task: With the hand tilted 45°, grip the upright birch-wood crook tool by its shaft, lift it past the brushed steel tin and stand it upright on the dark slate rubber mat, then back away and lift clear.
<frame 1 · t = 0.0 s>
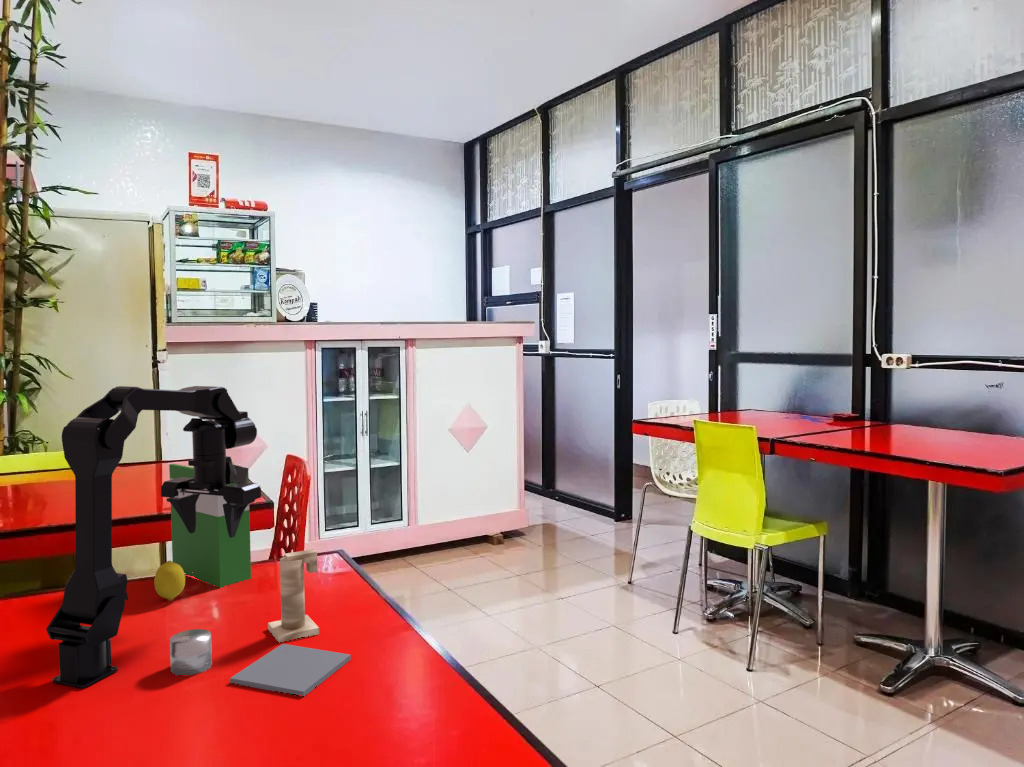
hand: (212, 535, 141), 15 cm above the table, tool pointing down, fingers open, 9 cm apart
mat: (292, 670, 117), on the table
steel tin: (191, 667, 119), on the table
hardback book: (211, 576, 162), on the table
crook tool: (293, 631, 132), on the table
lemon: (170, 601, 147), on the table
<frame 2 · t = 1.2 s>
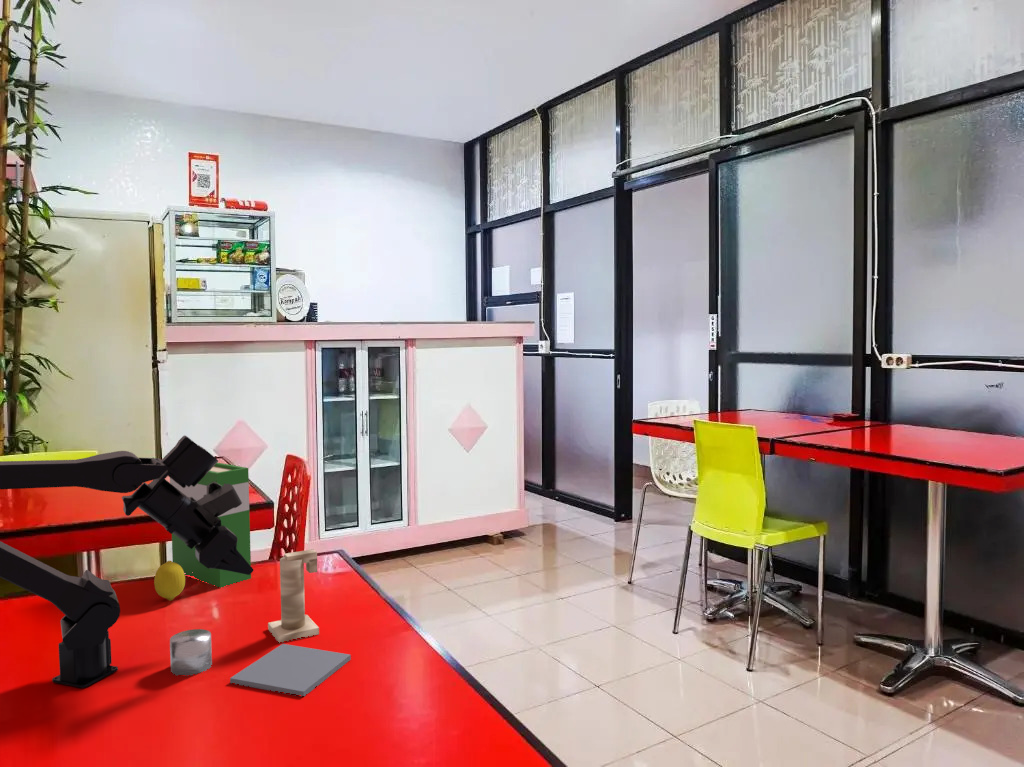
hand: (245, 564, 127), 13 cm above the table, tool tilted 45°, fingers open, 9 cm apart
nothing on the table moved.
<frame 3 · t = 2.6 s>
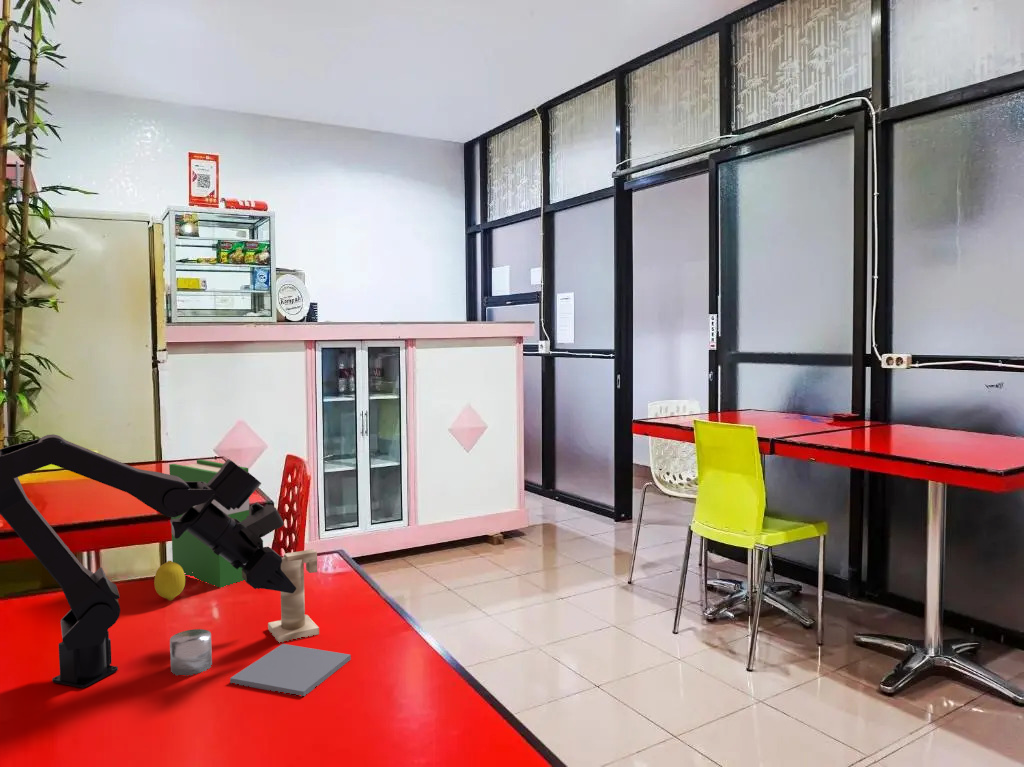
hand: (287, 583, 131), 9 cm above the table, tool tilted 45°, fingers open, 9 cm apart
nothing on the table moved.
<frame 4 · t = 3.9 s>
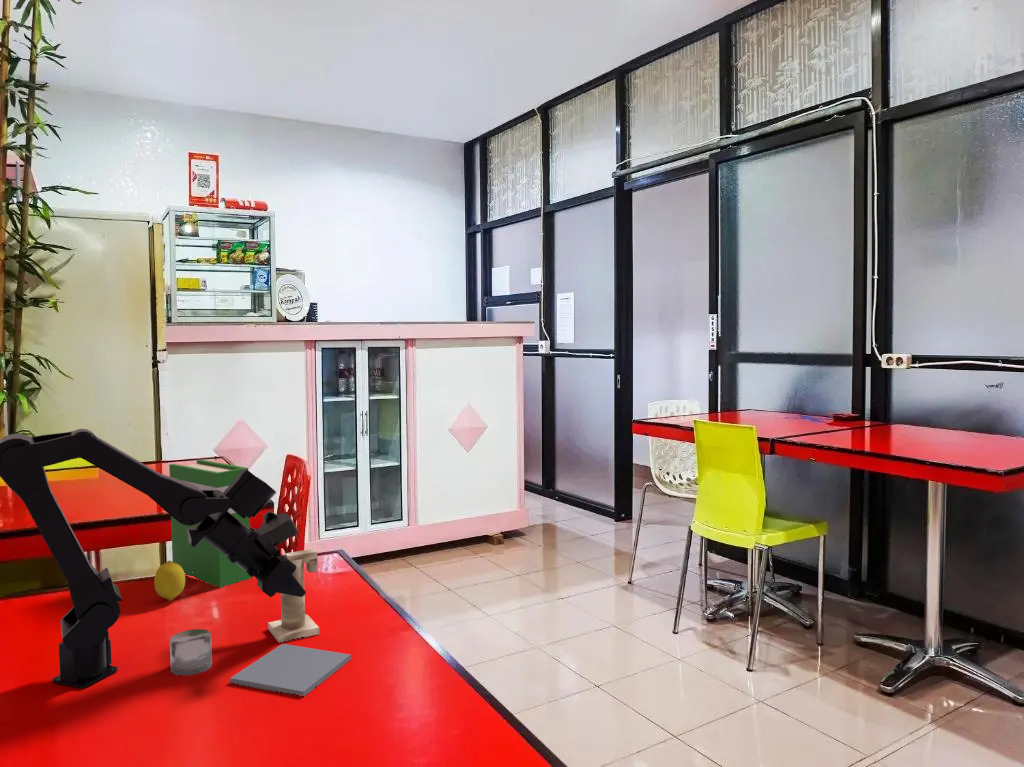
hand: (300, 590, 133), 7 cm above the table, tool tilted 45°, fingers closed on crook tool, 4 cm apart
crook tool: (293, 631, 132), on the table, touching gripper
everything else where it was.
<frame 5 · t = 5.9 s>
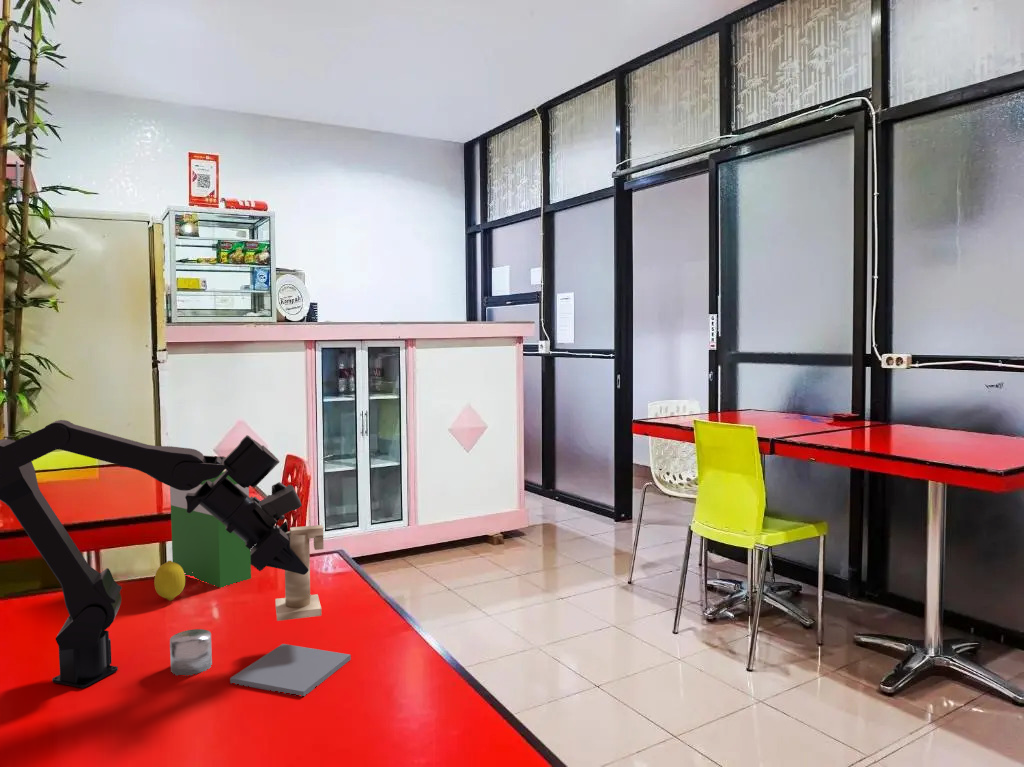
hand: (305, 568, 125), 13 cm above the table, tool tilted 45°, fingers closed on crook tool, 4 cm apart
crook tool: (298, 610, 125), point 6 cm above the table, touching gripper
everything else where it was.
when the fingers open (9 cm above the table, at t = 8.0 s): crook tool stays where it is, resting on mat.
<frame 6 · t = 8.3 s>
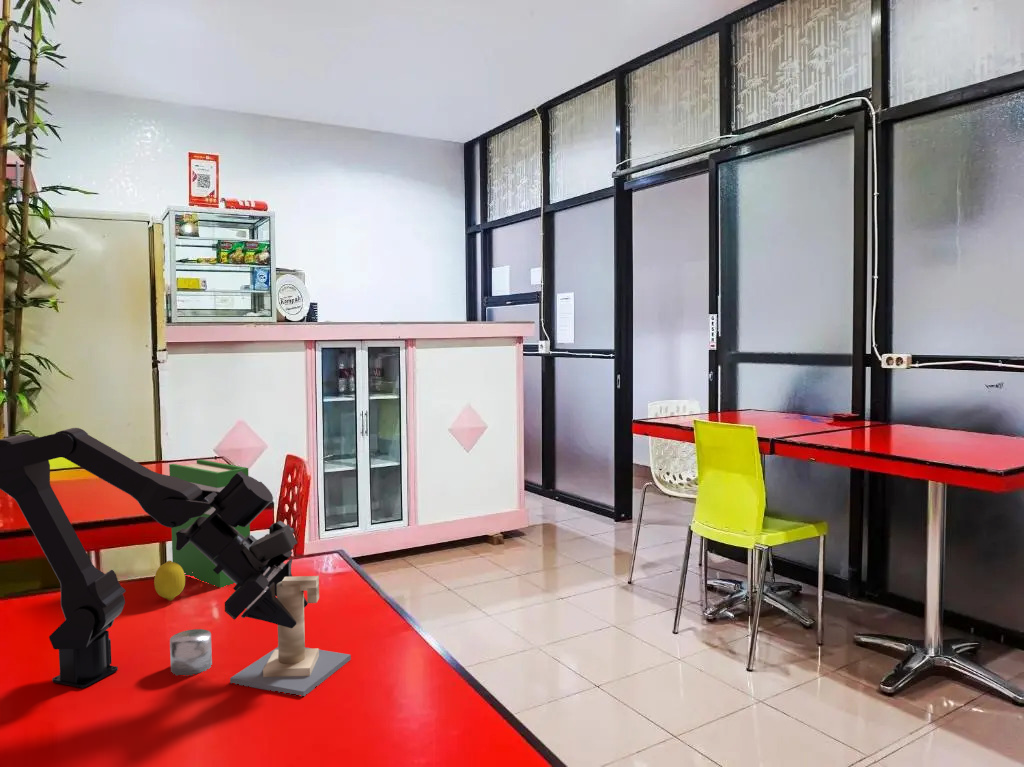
hand: (300, 615, 117), 9 cm above the table, tool tilted 45°, fingers open, 8 cm apart
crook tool: (292, 665, 117), point 1 cm above the table, touching mat
everything else where it was.
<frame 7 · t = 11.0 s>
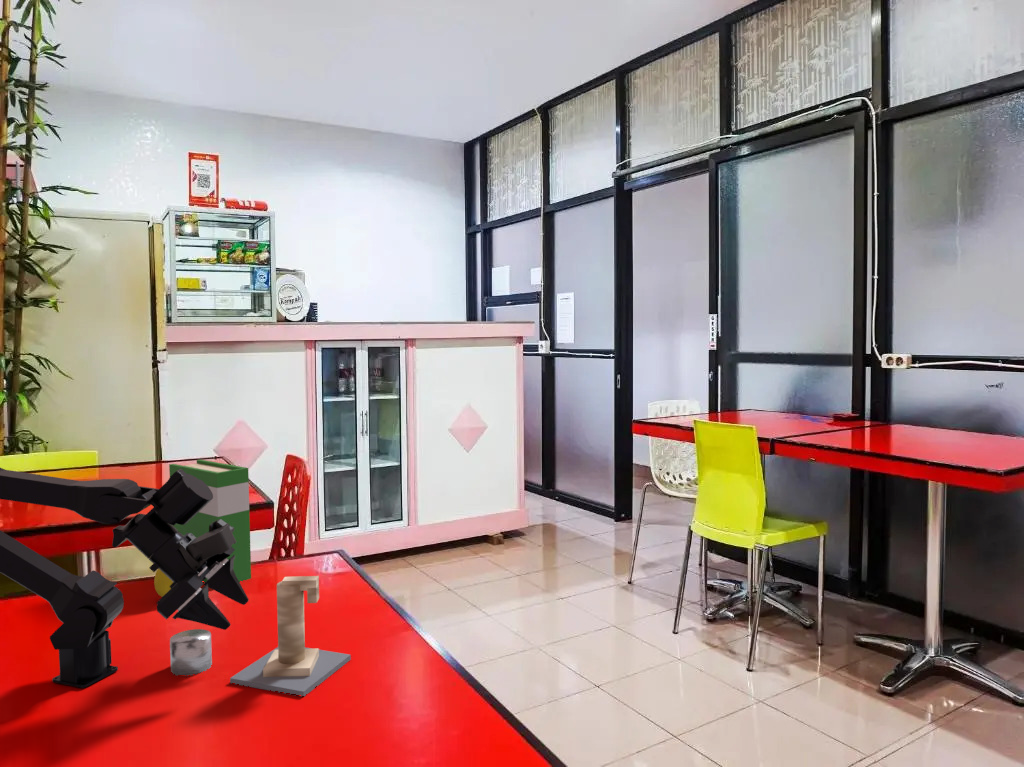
hand: (237, 614, 117), 9 cm above the table, tool tilted 45°, fingers open, 9 cm apart
nothing on the table moved.
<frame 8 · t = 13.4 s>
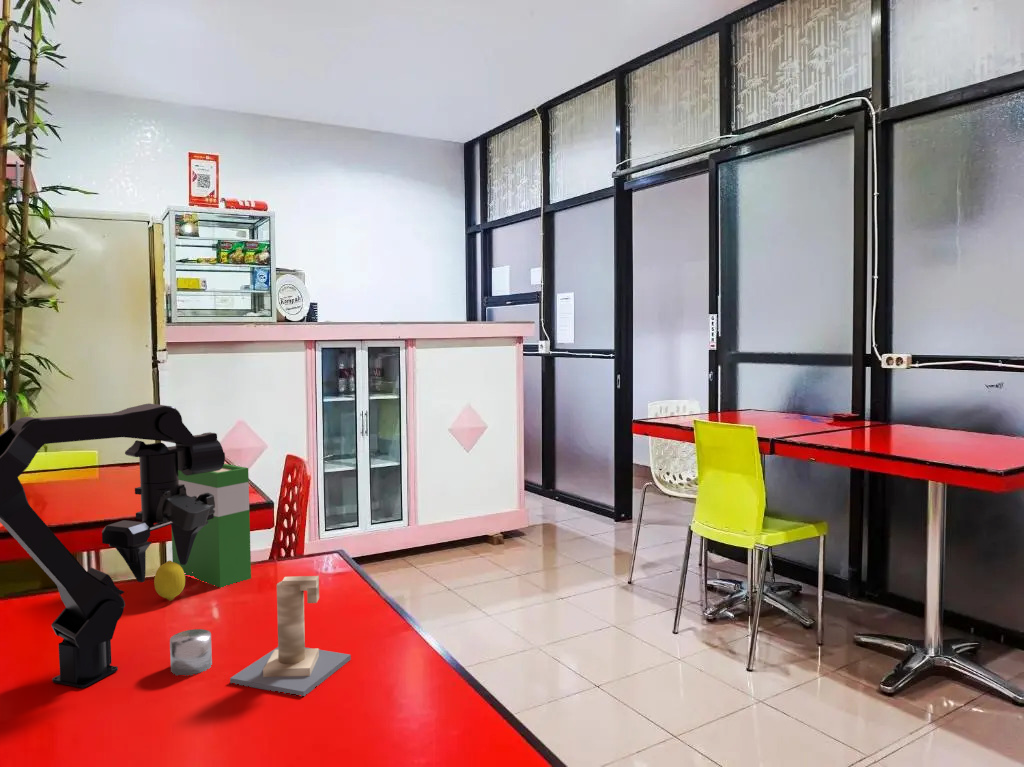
hand: (163, 572, 124), 13 cm above the table, tool pointing down, fingers open, 9 cm apart
nothing on the table moved.
at the end: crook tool inside the target area on the mat (0.1 cm from its centre), point 0.8 cm above the mat's base; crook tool tilted 0°; the gripper is holding nothing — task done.
